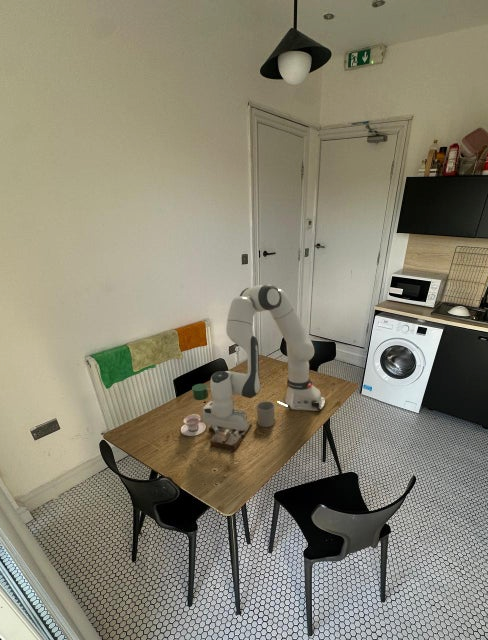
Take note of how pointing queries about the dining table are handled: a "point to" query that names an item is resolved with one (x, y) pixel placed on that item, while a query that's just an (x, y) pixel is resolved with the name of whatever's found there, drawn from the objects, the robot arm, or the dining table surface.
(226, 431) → the dimmer knob
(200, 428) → the teacup
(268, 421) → the cup
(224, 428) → the lamp base
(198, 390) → the desk lamp
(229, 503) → the dining table surface
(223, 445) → the dimmer
